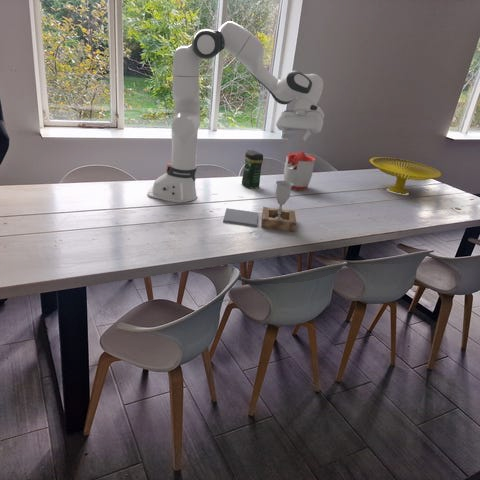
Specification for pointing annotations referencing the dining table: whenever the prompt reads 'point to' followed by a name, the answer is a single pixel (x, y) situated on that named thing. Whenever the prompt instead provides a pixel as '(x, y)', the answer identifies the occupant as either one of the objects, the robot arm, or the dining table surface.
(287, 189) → the chalice
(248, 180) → the coffee jar
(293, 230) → the walnut holder
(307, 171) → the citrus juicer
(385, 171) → the cake stand
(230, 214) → the grey mat
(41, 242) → the dining table surface
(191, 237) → the dining table surface
